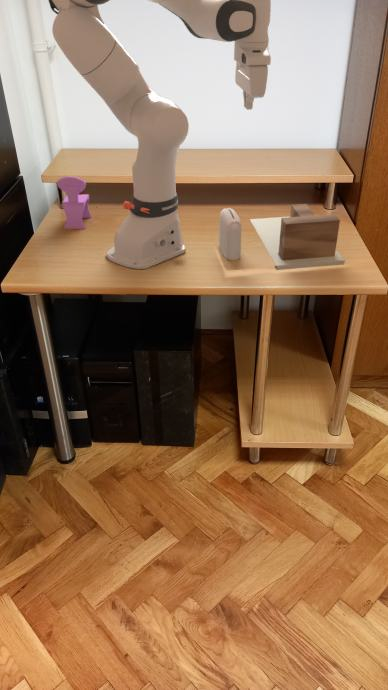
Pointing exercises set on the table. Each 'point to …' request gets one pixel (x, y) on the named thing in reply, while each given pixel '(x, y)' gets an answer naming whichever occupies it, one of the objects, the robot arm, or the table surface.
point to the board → (271, 238)
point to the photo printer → (230, 234)
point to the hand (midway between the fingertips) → (248, 108)
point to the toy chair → (74, 201)
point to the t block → (307, 234)
